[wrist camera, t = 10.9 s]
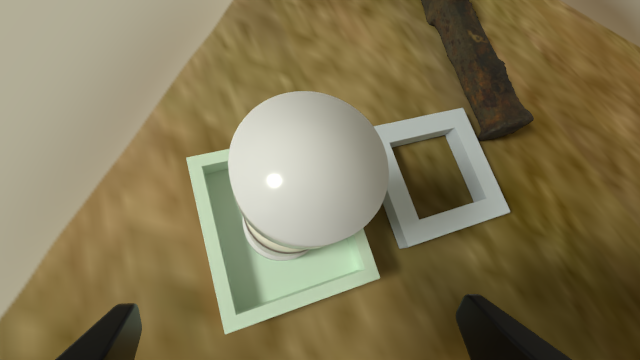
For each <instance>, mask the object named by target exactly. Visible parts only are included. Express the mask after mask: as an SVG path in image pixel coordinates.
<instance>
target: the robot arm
mask: <svg viewBox="0 0 640 360" xmlns="http://www.w3.org/2000/svg"><path fill="white" fill-rule="evenodd" d="M456 321H457V324H458V326H459V329H460V332H461V335H462V337H463V340H464V343H465V345H466V348H467V351H468V354H469V356H470V359H471V360H572V359H570V358H569V357H567V356H566V355H565V354H563V353H562V352H560V351H559V350H557V349H556V348H555V347H553V346H552V345H550V344H549V343H548V342H546V341H545V340H543V339H542V338H541V337H539V336H538V335H536V334H535V333H533V332H532V331H531V330H529V329H528V328H526V327H525V326H524V325H522V324H521V323H519V322H518V321H517V320H515V319H514V318H512V317H511V316H509V315H508V314H507V313H505V312H504V311H502V310H501V309H500V308H498V307H497V306H495V305H494V304H493V303H491V302H490V301H488V300H487V299H485V298H484V297H483V296H481V295H478V294H468V295H465V296H464V297H463V299H462V301H461V303H460V306H459V308H458V310H457V312H456ZM141 331H142V324H141V319H140V314H139V309H138V306H137V304H134V303H127V304H118V305H116V306H115V307H113V308H112V309H111V310H110V311H109V312H108V313H107V314H106V315H105V316H103V317H102V318H101V319H100V320H99V321H98V322H97V323H96V324H94V325H93V326H92V327H91V328H90V329H89V330H88V331H87V332H85V333H84V334H83V335H82V336H81V337H80V338H79V339H78V340H77V341H75V342H74V343H73V344H72V345H71V346H70V347H69V348H68V349H66V350H65V351H64V352H63V353H62V354H61V355H60V356H59V357H58V358H56V359H55V360H134V358H135V354H136V351H137V347H138V344H139V340H140V336H141Z"/></svg>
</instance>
